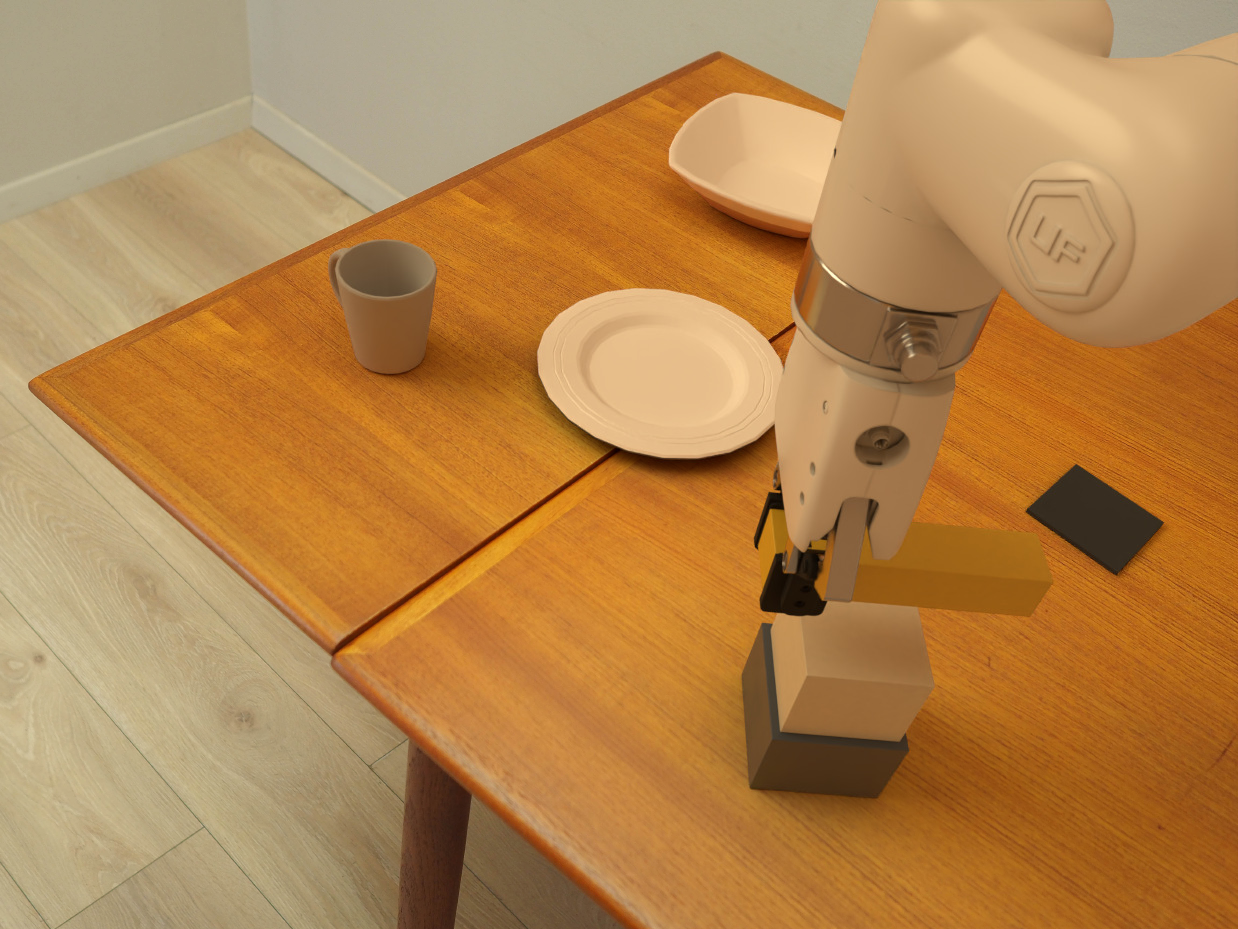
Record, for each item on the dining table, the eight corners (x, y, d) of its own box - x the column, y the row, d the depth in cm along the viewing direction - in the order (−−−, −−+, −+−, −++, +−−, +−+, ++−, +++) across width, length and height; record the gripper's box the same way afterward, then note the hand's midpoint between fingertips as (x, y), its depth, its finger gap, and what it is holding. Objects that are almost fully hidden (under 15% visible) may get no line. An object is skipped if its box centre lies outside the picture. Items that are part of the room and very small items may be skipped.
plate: (755, 506, 80) (760, 489, 78) (497, 426, 82) (498, 408, 81) (802, 343, 94) (807, 326, 92) (581, 279, 96) (583, 262, 95)
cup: (390, 397, 83) (386, 312, 76) (301, 339, 86) (291, 253, 80) (456, 352, 87) (458, 268, 81) (370, 298, 91) (365, 214, 84)
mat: (1162, 525, 84) (1164, 522, 83) (1115, 575, 79) (1118, 572, 79) (1074, 466, 87) (1076, 463, 87) (1025, 511, 83) (1027, 508, 82)
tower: (859, 684, 70) (919, 575, 61) (877, 798, 64) (946, 695, 56) (741, 674, 69) (784, 562, 60) (749, 788, 64) (798, 683, 55)
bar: (1015, 568, 56) (1037, 532, 54) (1030, 617, 54) (1054, 582, 52) (757, 545, 55) (770, 507, 53) (762, 594, 53) (775, 557, 51)
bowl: (840, 288, 100) (855, 242, 96) (635, 211, 105) (643, 164, 101) (896, 186, 115) (912, 143, 111) (714, 123, 119) (724, 79, 115)
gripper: (1038, 448, 36) (880, 725, 49) (943, 191, 47) (836, 471, 61) (823, 427, 35) (722, 712, 49) (780, 172, 47) (707, 458, 60)
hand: (786, 576), depth 54 cm, fingers closed on bar, 3 cm apart
